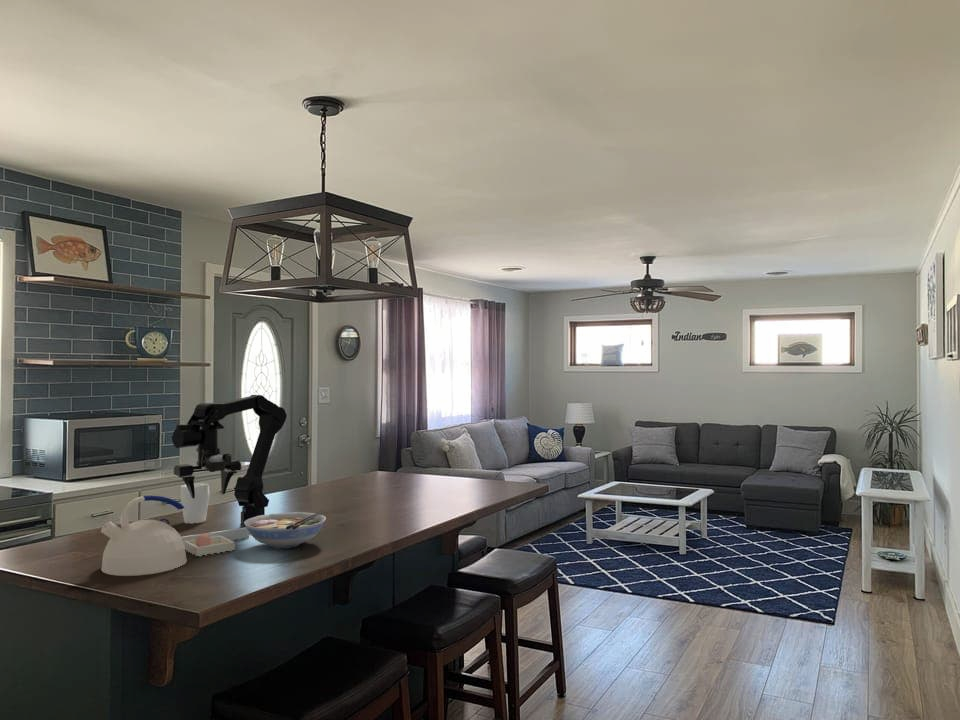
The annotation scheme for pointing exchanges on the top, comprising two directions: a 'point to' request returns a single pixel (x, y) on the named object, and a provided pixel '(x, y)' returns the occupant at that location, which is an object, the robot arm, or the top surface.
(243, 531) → the wall
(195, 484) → the cup
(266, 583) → the top surface
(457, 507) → the top surface
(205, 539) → the ball
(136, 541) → the kettle
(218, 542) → the dish
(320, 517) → the ramen bowl
